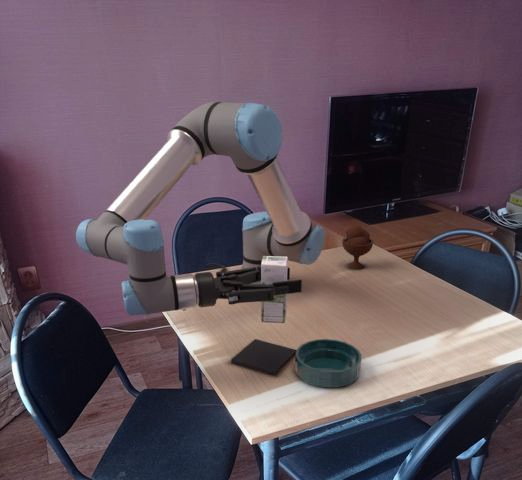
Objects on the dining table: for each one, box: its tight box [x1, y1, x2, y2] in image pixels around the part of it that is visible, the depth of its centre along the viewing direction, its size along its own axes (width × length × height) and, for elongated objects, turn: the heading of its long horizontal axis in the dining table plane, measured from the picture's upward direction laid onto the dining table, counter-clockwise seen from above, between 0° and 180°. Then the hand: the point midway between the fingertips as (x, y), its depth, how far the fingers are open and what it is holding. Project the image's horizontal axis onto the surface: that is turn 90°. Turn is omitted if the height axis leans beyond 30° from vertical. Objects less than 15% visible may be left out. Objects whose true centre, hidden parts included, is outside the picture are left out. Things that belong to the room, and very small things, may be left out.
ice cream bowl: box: [341, 224, 374, 270], centre depth 177 cm, size 11×11×15 cm
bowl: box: [294, 338, 362, 388], centre depth 119 cm, size 15×15×4 cm
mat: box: [230, 338, 297, 377], centre depth 125 cm, size 12×12×1 cm
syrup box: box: [260, 256, 289, 324], centre depth 115 cm, size 6×6×14 cm
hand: (294, 279), depth 115 cm, fingers closed on syrup box, 7 cm apart
